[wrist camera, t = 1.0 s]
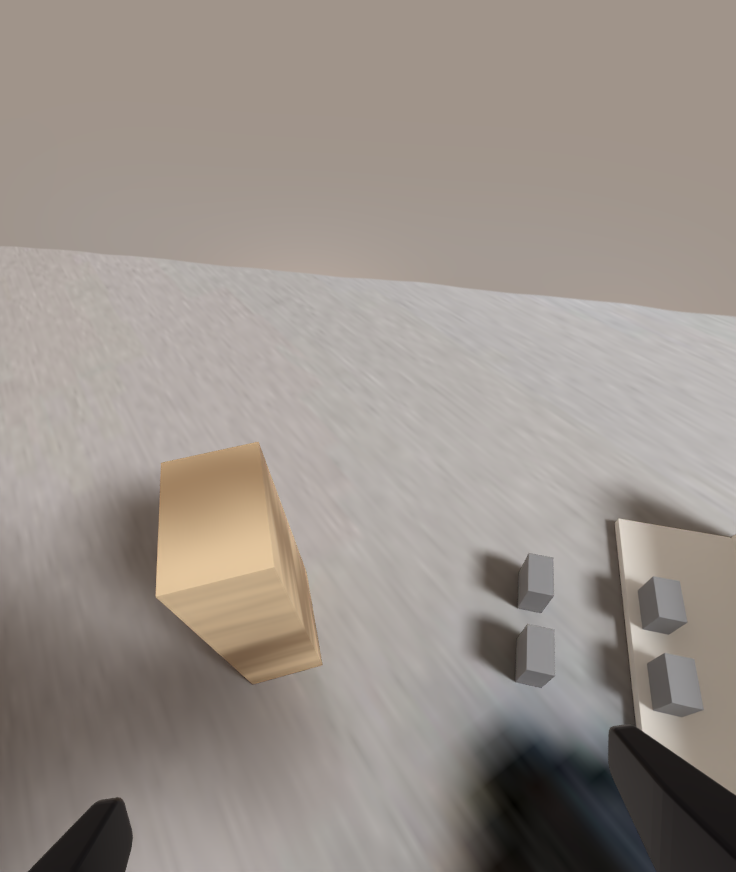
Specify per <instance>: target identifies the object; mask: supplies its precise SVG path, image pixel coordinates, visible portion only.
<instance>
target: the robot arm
mask: <svg viewBox="0 0 736 872" xmlns="http://www.w3.org/2000/svg"><path fill="white" fill-rule="evenodd" d="M608 763H609V768H610V772H611V775H612V777H613V780H614V782H615V784H616V786H617V788H618V790H619V792H620V795H621V797H622V799H623V801H624V803H625V805H626V807H627V810H628V812H629V814H630V816H631V818H632V820H633V822H634V825H635V827H636V829H637V831H638V833H639V835H640V838H641V840H642V842H643V844H644V846H645V848H646V850H647V853H648V855H649V857H650V859H651V861H652V863H653V865H654V867H655V869H656V871H657V872H736V795H735V794H733V793H732V792H730V791H729V790H728V789H726V788H725V787H723V786H722V785H720V784H719V783H717V782H716V781H714V780H713V779H712V778H710V777H709V776H707V775H706V774H704V773H703V772H701V771H700V770H698V769H697V768H696V767H694V766H693V765H691V764H690V763H688V762H687V761H685V760H684V759H682V758H681V757H680V756H678V755H677V754H675V753H674V752H672V751H671V750H669V749H668V748H666V747H665V746H664V745H662V744H661V743H659V742H658V741H656V740H655V739H653V738H652V737H650V736H649V735H648V734H646V733H645V732H643V731H642V730H640V729H639V728H637V727H636V726H634V725H631V724H626V725H619V726H613V727H611V728H610V730H609V740H608ZM132 839H133V835H132V828H131V825H130V821H129V818H128V814H127V811H126V807H125V803H124V801H123V800H122V799H121V798H118V797H117V798H110V799H103V800H99V801H97V802H96V803H94V804H93V805H92V806H91V807H90V808H89V809H88V810H87V811H86V812H85V813H84V814H83V815H82V816H81V817H80V819H79V820H78V821H77V822H76V823H75V824H74V825H73V826H72V827H71V828H70V829H69V830H68V831H67V832H66V833H65V834H64V835H63V836H62V837H61V838H60V839H59V840H58V841H57V842H56V843H55V844H54V845H53V846H52V847H51V848H50V849H49V850H48V851H47V852H46V853H45V855H44V856H43V857H42V858H41V859H40V860H39V861H38V862H37V863H36V864H35V865H34V866H33V867H32V868H31V869H30V870H29V871H28V872H125V871H126V867H127V863H128V859H129V855H130V852H131V847H132Z"/></svg>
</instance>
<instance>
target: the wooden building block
mask: <svg viewBox="0 0 736 872" xmlns="http://www.w3.org/2000/svg"><path fill="white" fill-rule="evenodd" d="M156 598H157V599H159V600H160V601H161V602H162V603H163V604H164V605H165V606H166V607H167V608H169V609H170V610H171V611H172V612H173V613H174V614H175V615H176V616H177V617H178V618H180V619H181V620H182V621H183V622H184V623H185V624H186V625H187V626H188V627H190V628H191V629H192V630H193V631H194V632H195V633H196V634H197V635H198V636H200V637H201V638H202V639H203V640H204V641H205V642H206V643H207V644H208V645H209V646H211V647H212V648H213V649H214V650H215V651H216V652H217V653H218V654H219V655H221V656H222V657H223V658H224V659H225V660H226V661H227V662H228V663H229V664H231V665H232V666H233V667H234V668H235V669H236V670H237V671H238V672H239V673H241V674H242V675H243V676H244V677H245V678H246V679H247V680H248V681H249V682H250V683H252V684H256V683H260V682H264V681H267V680H271V679H274V678H278V677H282V676H285V675H289V674H292V673H296V672H300V671H303V670H307V669H310V668H314V667H318V666H321V665H322V659H321V654H320V648H319V642H318V636H317V630H316V625H315V619H314V613H313V607H312V601H311V596H310V590H309V584H308V578H307V572H306V570H305V567H304V564H303V561H302V559H301V556H300V553H299V551H298V548H297V545H296V542H295V540H294V537H293V534H292V532H291V529H290V526H289V523H288V521H287V518H286V515H285V513H284V510H283V507H282V504H281V502H280V499H279V496H278V494H277V491H276V488H275V485H274V483H273V480H272V477H271V475H270V472H269V469H268V466H267V464H266V461H265V458H264V455H263V453H262V450H261V447H260V445H259V442H255V443H250V444H246V445H241V446H237V447H232V448H227V449H223V450H218V451H214V452H209V453H204V454H200V455H195V456H191V457H186V458H181V459H177V460H172V461H167V462H163V463H161V479H160V503H159V527H158V551H157V575H156Z"/></svg>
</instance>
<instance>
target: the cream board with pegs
mask: <svg viewBox="0 0 736 872" xmlns="http://www.w3.org/2000/svg"><path fill="white" fill-rule="evenodd" d="M615 532H616V541H617V551H618V560H619V569H620V579H621V588H622V598H623V607H624V617H625V626H626V635H627V645H628V654H629V664H630V673H631V682H632V692H633V701H634V711H635V720H636V727H637V728H639V729H640V730H642V731H643V732H645V733H646V734H648V735H649V736H650V737H652V738H653V739H655V740H656V741H658V742H659V743H661V744H662V745H664V746H665V747H666V748H668V749H669V750H671V751H672V752H674V753H675V754H677V755H678V756H680V757H681V758H682V759H684V760H685V761H687V762H688V763H690V764H691V765H693V766H694V767H696V768H697V769H698V770H700V771H701V772H703V773H704V774H706V775H707V776H709V777H710V778H712V779H713V780H714V781H716V782H717V783H719V784H720V785H722V786H723V787H725V788H726V789H728V790H729V791H730V792H732V793H733V794H735V795H736V534H735V535H734V536H733V537H732V538H731V537H725V536H719V535H713V534H707V533H701V532H696V531H690V530H684V529H678V528H672V527H666V526H660V525H654V524H648V523H642V522H636V521H630V520H624V519H618V520H617V521H616V522H615ZM553 596H554V574H553V557H547V556H542V555H536V554H531V553H529V554H528V556H527V558H526V560H525V562H524V563H523V565H522V567H521V569H520V571H519V583H518V608H519V609H524V610H529V611H534V612H539V613H542V611H543V610H544V609H545V607H546V606H547V604H548V603H549V602H550V600H551V599H552V598H553ZM554 676H555V640H554V629H550V628H545V627H540V626H536V625H531V624H527V625H526V627H525V628H524V629H523V631H522V632H521V634H520V635H519V637H518V638H517V644H516V675H515V682H518V683H522V684H526V685H531V686H535V687H539V688H542V687H543V686H544V685H545V684H546V683H547V682H549V681H550V680H551V679H552V678H553V677H554Z"/></svg>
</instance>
